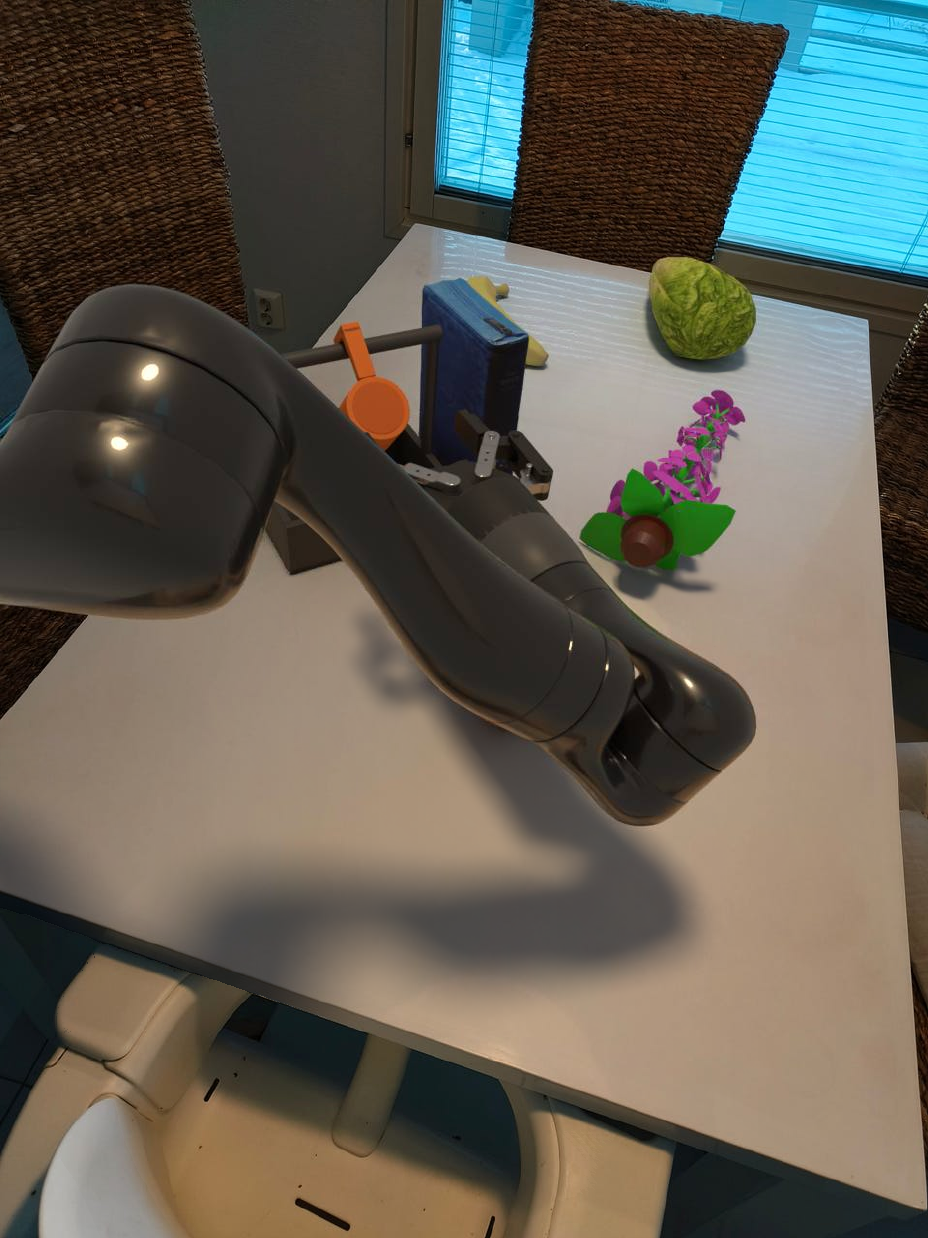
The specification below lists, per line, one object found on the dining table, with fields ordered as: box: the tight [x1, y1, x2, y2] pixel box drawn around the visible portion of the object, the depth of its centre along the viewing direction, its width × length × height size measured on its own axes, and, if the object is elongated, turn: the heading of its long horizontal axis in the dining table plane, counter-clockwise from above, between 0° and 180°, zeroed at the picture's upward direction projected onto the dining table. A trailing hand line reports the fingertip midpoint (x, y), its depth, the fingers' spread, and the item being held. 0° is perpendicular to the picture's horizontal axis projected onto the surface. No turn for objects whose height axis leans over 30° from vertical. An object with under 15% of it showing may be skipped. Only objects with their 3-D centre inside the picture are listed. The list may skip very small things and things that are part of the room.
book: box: [418, 277, 530, 475], centre depth 88 cm, size 14×5×20 cm, turn 31°
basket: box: [264, 325, 443, 576], centre depth 81 cm, size 18×12×20 cm, turn 119°
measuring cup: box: [332, 320, 411, 451], centre depth 77 cm, size 10×6×9 cm
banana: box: [465, 275, 550, 367], centre depth 117 cm, size 14×6×20 cm
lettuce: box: [648, 256, 757, 361], centre depth 119 cm, size 12×24×13 cm
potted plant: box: [579, 389, 746, 572], centre depth 92 cm, size 12×16×35 cm
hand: (411, 430), depth 67 cm, fingers open, 8 cm apart
